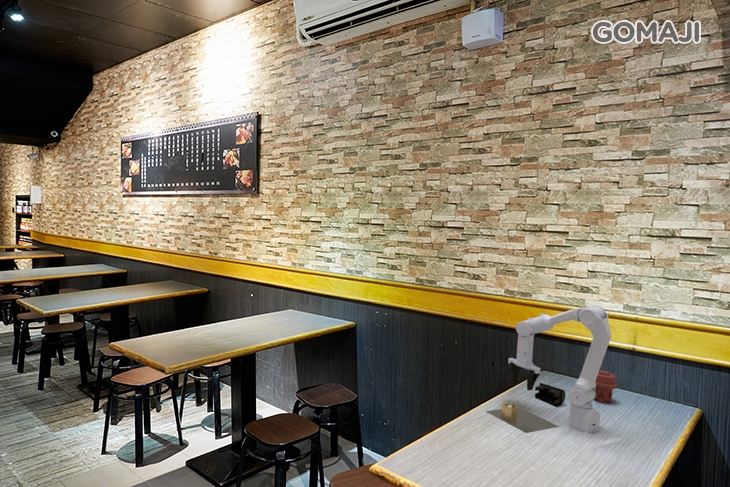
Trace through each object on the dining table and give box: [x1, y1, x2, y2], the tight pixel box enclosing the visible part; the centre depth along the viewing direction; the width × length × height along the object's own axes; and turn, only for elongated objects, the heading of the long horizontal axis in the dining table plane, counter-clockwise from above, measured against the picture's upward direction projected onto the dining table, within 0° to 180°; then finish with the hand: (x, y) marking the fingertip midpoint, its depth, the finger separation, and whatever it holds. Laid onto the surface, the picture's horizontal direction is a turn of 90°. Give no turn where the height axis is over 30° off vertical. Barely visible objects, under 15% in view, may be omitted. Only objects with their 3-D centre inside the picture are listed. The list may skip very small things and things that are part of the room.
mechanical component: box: [594, 370, 618, 404], centre depth 204 cm, size 12×10×10 cm
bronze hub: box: [501, 402, 519, 420], centre depth 176 cm, size 5×5×4 cm
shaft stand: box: [485, 405, 560, 434], centre depth 174 cm, size 20×16×6 cm
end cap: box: [534, 382, 566, 408], centre depth 198 cm, size 10×7×7 cm
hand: (522, 386), depth 186 cm, fingers open, 7 cm apart
